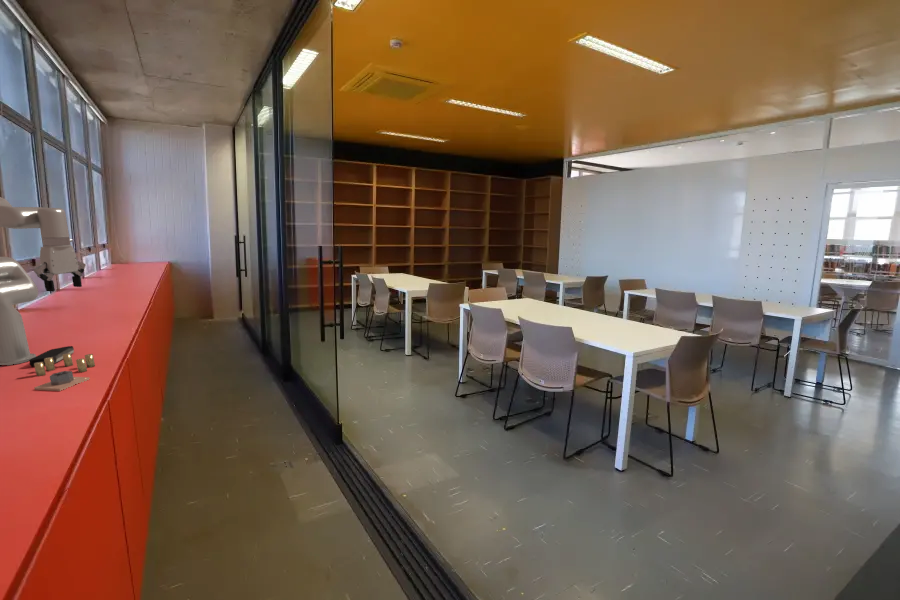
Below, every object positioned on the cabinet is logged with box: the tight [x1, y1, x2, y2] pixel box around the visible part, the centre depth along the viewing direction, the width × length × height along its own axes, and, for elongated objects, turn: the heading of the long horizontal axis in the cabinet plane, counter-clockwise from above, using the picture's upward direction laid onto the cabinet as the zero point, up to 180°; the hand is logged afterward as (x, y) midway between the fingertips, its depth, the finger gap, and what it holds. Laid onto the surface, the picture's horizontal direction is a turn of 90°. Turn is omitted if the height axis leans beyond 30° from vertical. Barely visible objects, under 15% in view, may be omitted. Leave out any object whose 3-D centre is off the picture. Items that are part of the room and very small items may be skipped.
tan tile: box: [34, 376, 91, 392], centre depth 148 cm, size 10×10×1 cm
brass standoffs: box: [34, 353, 96, 377], centre depth 162 cm, size 16×12×4 cm
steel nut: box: [49, 370, 74, 385], centre depth 148 cm, size 6×5×3 cm
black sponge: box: [28, 345, 75, 368], centre depth 175 cm, size 16×8×4 cm, turn 17°
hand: (64, 288), depth 164 cm, fingers open, 9 cm apart
